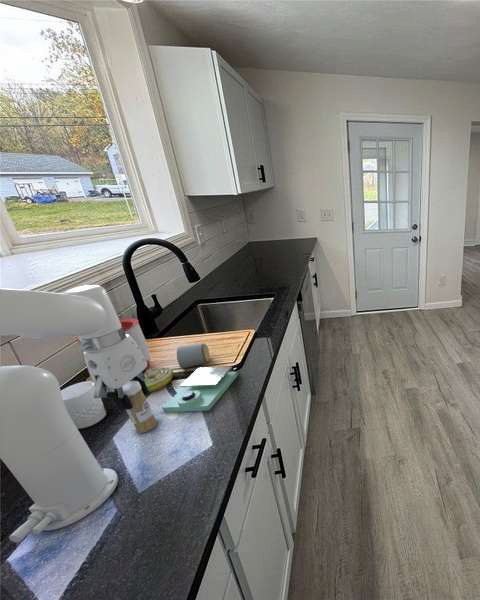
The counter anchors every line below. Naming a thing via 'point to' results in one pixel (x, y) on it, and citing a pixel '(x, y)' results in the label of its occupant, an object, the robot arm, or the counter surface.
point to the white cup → (83, 404)
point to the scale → (200, 396)
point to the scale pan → (206, 377)
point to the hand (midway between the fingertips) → (134, 400)
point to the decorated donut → (158, 378)
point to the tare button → (188, 395)
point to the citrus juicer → (134, 335)
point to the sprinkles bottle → (139, 408)
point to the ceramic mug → (192, 355)
